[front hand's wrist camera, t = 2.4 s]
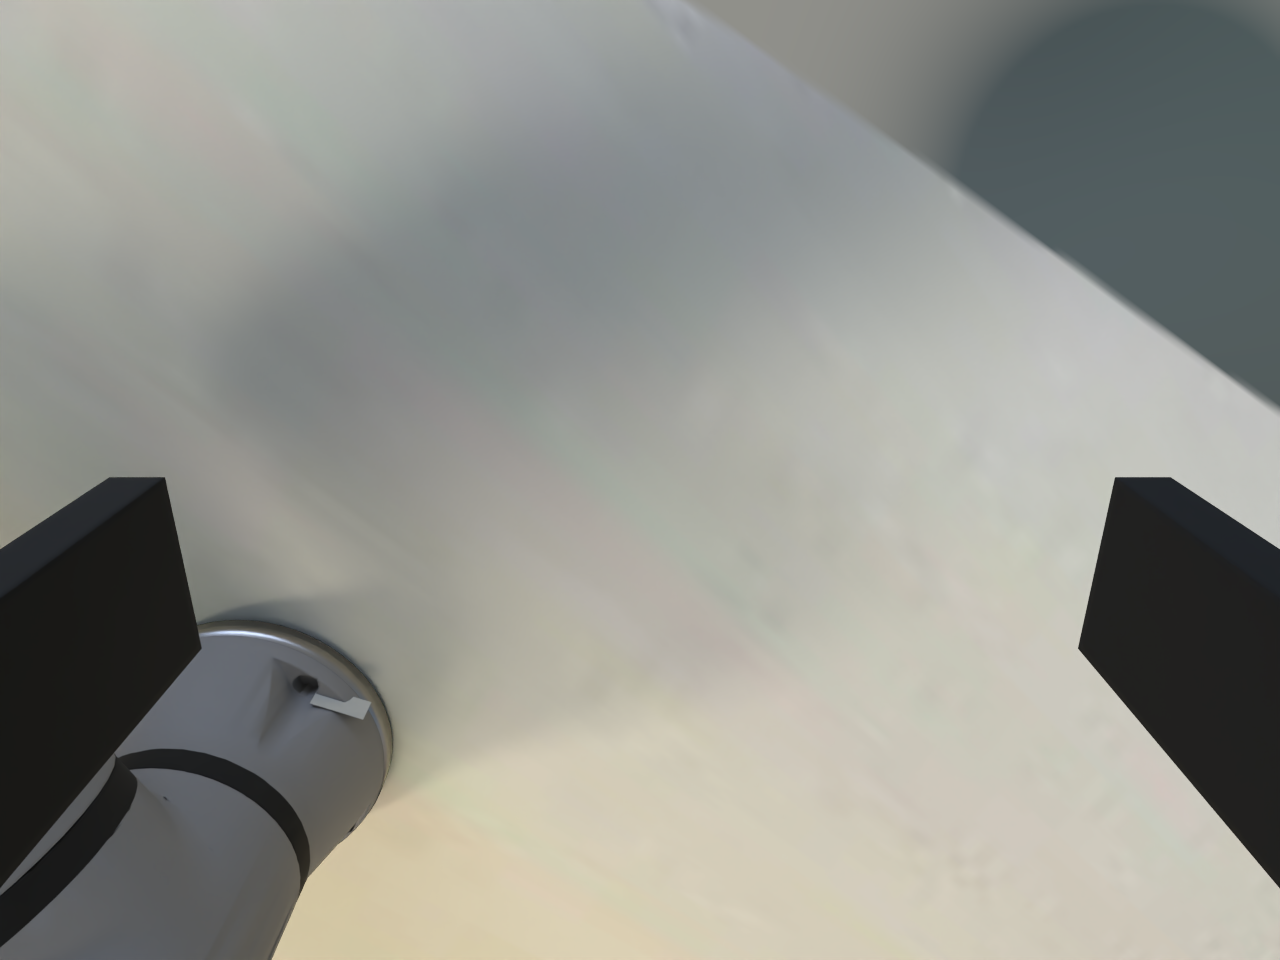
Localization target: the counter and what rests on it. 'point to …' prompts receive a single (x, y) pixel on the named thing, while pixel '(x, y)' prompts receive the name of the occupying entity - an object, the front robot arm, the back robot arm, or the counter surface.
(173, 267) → the counter surface
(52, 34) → the counter surface
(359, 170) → the counter surface
